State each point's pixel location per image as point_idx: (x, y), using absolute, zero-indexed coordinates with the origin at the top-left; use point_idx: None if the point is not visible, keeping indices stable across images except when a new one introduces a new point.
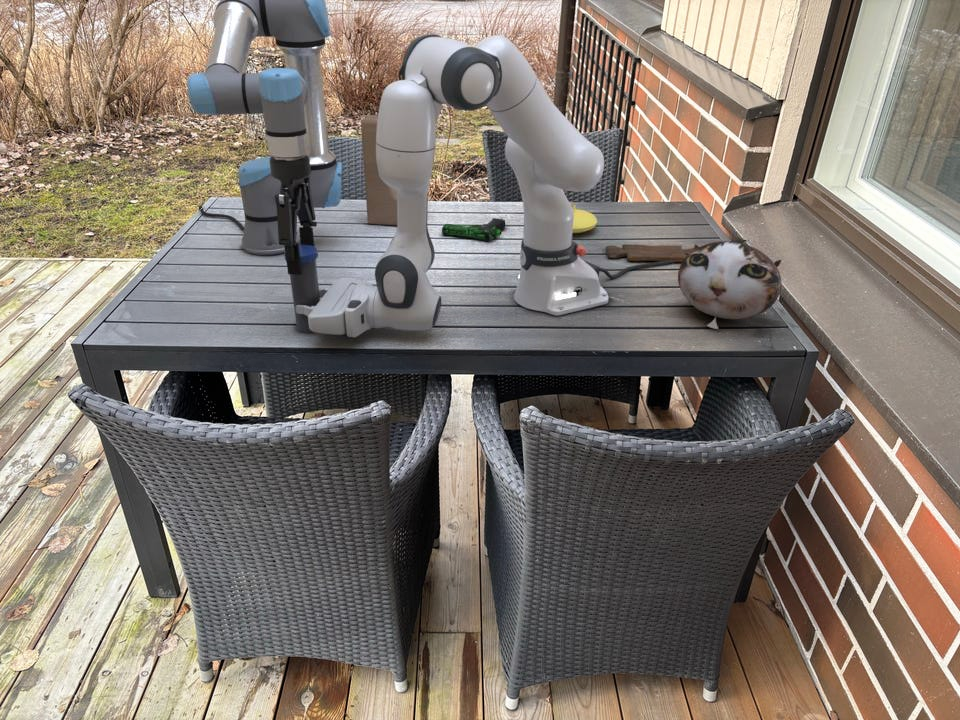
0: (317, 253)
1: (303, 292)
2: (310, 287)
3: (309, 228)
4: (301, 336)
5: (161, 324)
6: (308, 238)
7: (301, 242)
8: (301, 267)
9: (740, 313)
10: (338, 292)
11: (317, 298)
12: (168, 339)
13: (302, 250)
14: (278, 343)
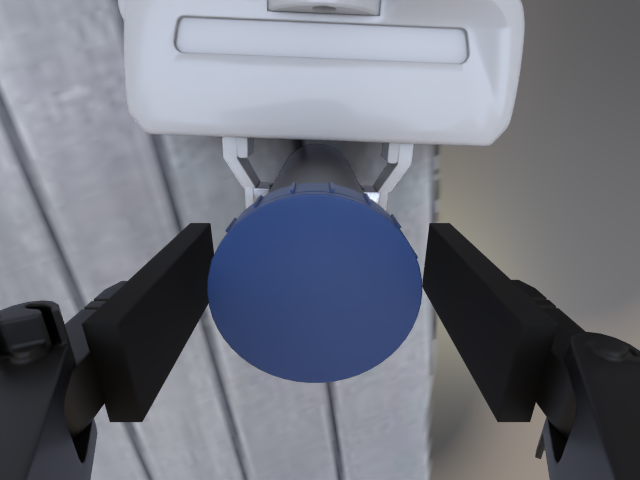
0: (293, 188)
1: None
2: (358, 185)
3: (115, 343)
4: None
5: (346, 469)
6: (167, 305)
7: (189, 333)
8: (442, 235)
9: None
10: (284, 80)
11: (328, 159)
12: (405, 438)
13: (313, 288)
14: (412, 231)
